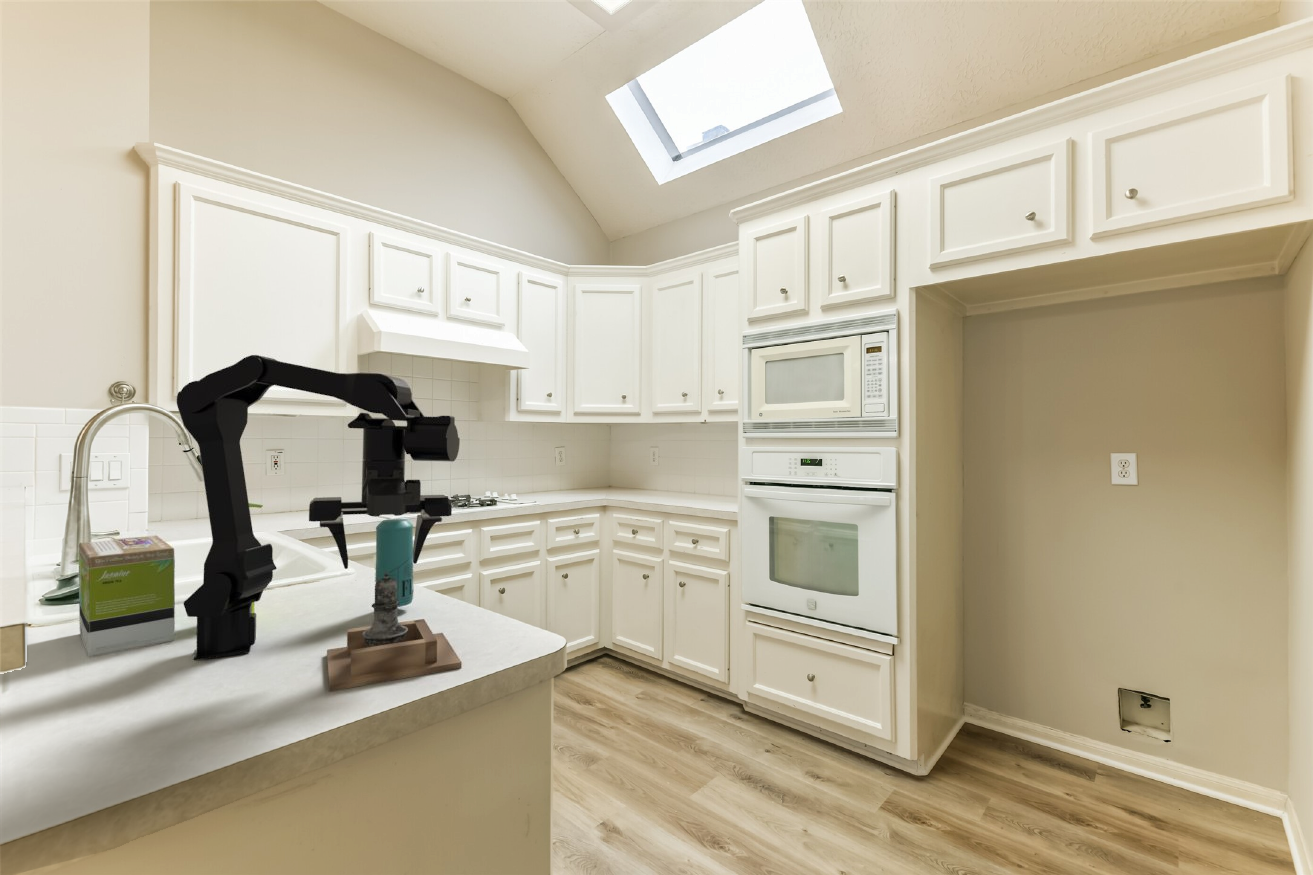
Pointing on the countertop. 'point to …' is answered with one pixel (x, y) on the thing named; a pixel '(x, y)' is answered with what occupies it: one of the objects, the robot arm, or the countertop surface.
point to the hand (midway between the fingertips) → (381, 565)
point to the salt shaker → (385, 615)
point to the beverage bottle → (396, 556)
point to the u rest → (390, 657)
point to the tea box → (126, 594)
